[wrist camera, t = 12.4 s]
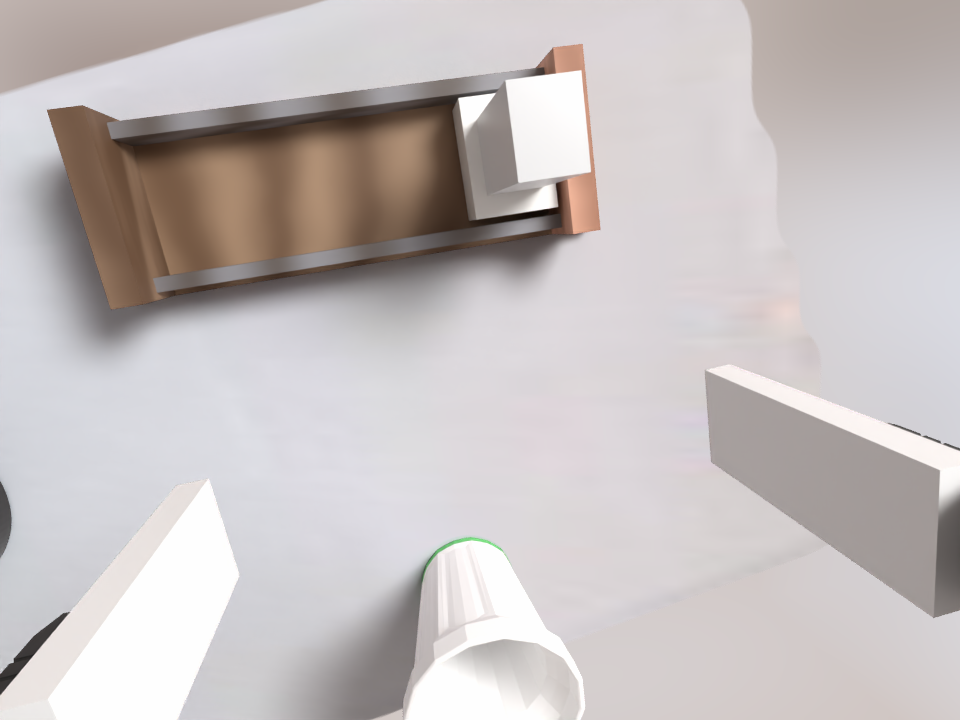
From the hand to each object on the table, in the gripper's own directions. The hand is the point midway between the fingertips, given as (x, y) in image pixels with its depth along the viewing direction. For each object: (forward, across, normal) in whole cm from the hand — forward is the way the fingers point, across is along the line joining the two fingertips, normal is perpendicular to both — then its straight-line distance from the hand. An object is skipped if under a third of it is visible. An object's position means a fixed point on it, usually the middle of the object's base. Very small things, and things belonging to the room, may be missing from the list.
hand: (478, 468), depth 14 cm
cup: (+32, 0, +26) cm, 41 cm away
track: (+32, +3, -10) cm, 34 cm away
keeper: (+30, -8, -10) cm, 33 cm away
